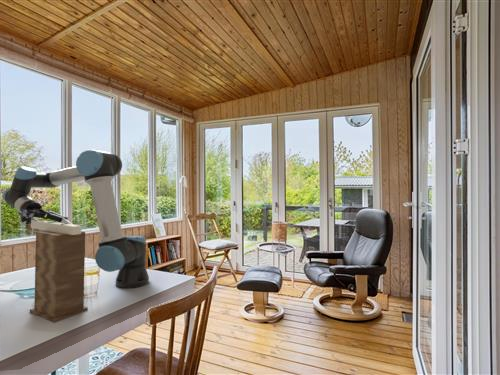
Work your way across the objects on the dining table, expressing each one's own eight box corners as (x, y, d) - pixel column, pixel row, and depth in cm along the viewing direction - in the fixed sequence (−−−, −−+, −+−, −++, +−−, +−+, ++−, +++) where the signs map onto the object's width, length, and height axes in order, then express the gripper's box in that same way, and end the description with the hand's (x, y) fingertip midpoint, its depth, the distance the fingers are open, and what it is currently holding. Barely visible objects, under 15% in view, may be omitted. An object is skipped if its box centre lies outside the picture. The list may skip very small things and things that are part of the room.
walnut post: (29, 312, 108) (31, 231, 108) (63, 301, 119) (64, 228, 119) (54, 322, 101) (56, 236, 101) (87, 310, 112) (89, 231, 111)
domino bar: (30, 228, 117) (31, 220, 117) (39, 227, 120) (39, 219, 120) (72, 234, 104) (73, 226, 104) (81, 233, 107) (81, 225, 107)
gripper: (51, 215, 147) (79, 233, 139) (-6, 213, 123) (23, 235, 116) (57, 202, 146) (85, 219, 139) (1, 197, 123) (30, 218, 116)
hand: (57, 226), depth 127 cm, fingers open, 13 cm apart
